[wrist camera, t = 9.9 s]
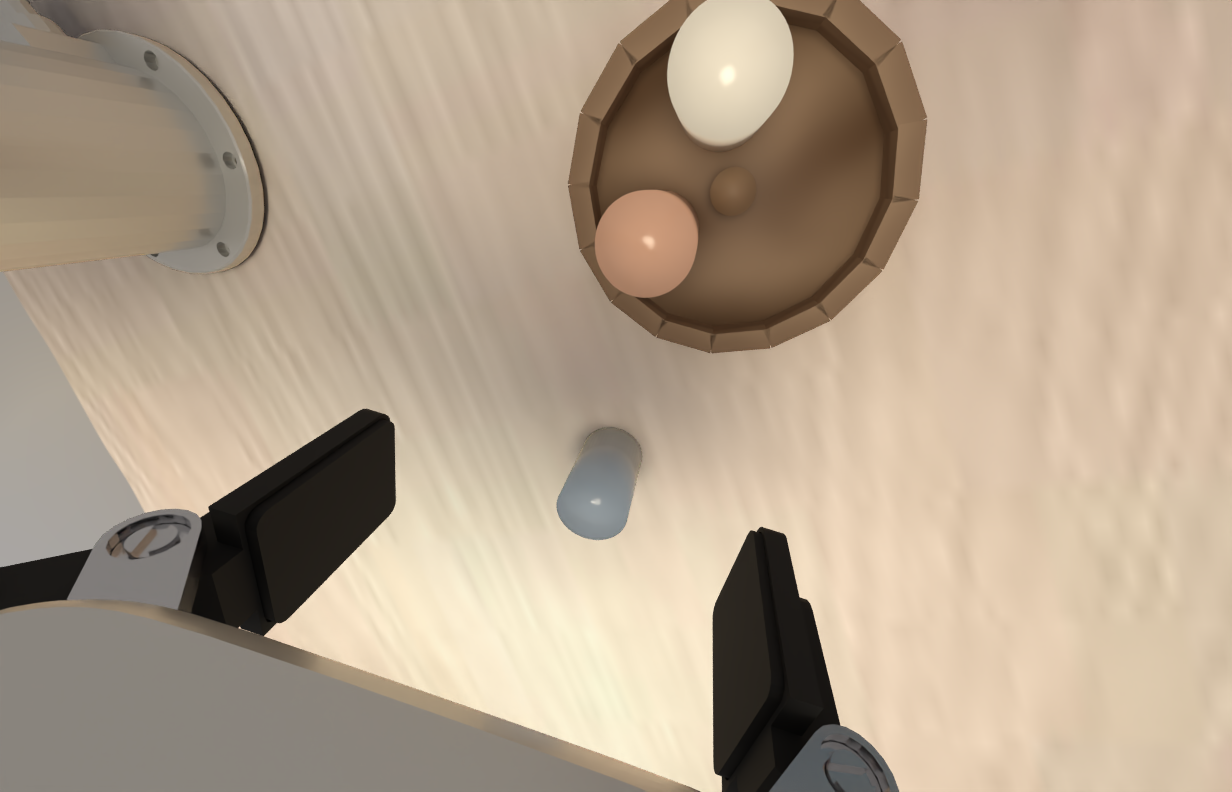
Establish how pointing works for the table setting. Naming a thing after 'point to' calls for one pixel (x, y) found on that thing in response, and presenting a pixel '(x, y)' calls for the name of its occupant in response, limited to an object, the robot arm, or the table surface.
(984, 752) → the table surface
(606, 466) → the bead slate
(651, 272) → the bead terracotta
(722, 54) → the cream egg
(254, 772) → the robot arm
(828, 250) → the groove tray
